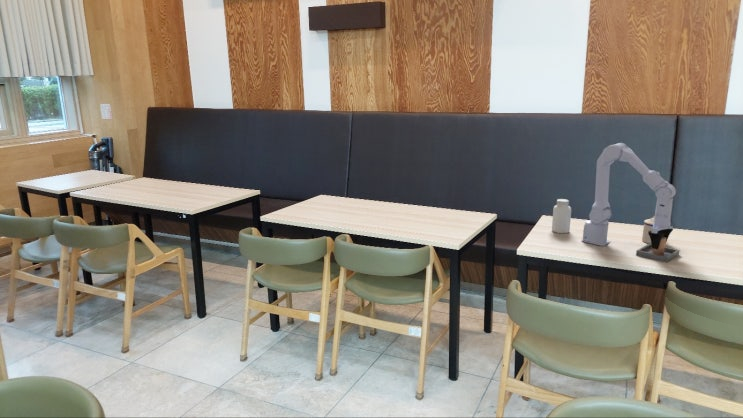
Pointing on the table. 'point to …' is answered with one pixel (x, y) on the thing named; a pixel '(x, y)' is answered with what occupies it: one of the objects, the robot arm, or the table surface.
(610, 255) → the table surface
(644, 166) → the robot arm
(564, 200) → the pill bottle
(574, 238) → the table surface
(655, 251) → the terracotta cup
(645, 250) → the charcoal tray
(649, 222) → the teacup with lid
